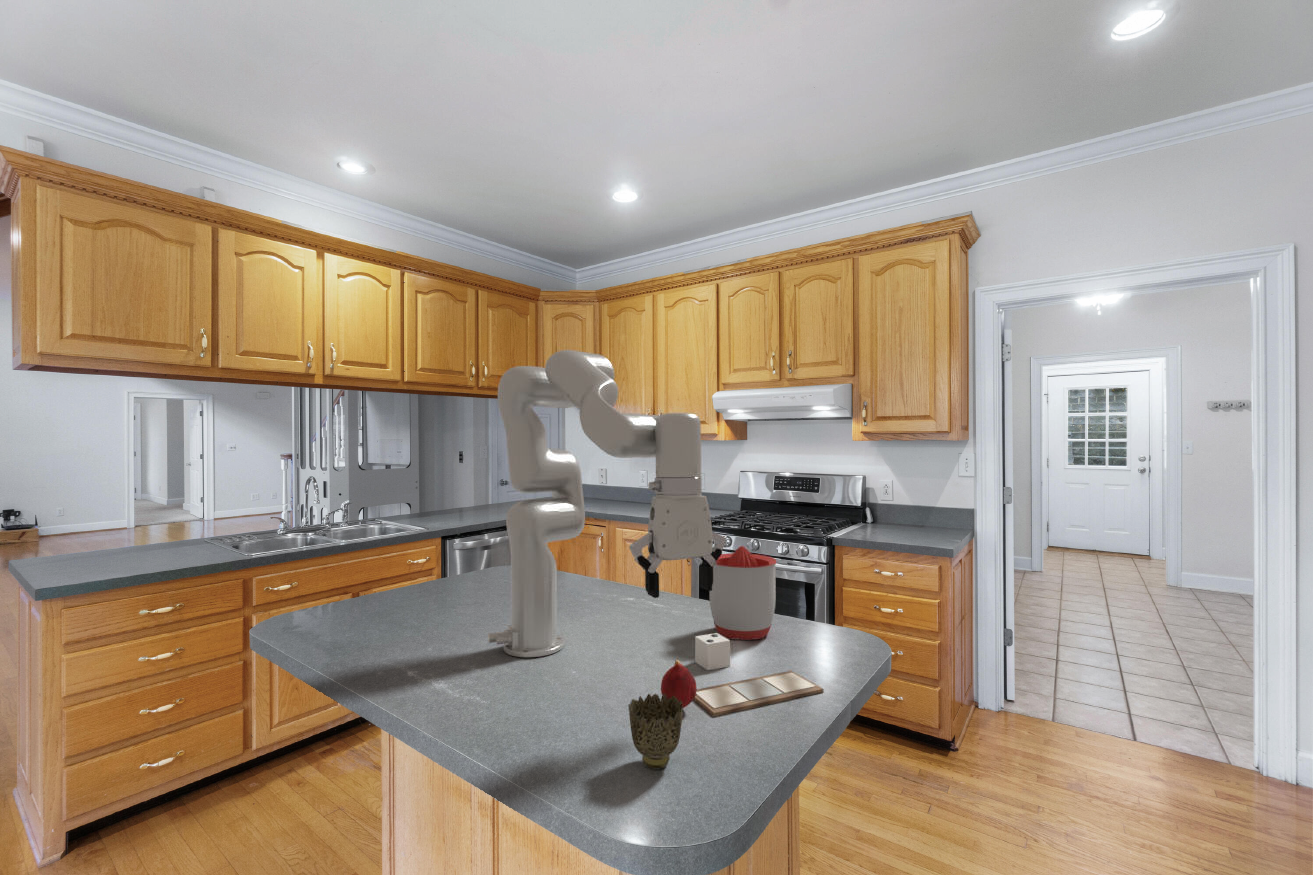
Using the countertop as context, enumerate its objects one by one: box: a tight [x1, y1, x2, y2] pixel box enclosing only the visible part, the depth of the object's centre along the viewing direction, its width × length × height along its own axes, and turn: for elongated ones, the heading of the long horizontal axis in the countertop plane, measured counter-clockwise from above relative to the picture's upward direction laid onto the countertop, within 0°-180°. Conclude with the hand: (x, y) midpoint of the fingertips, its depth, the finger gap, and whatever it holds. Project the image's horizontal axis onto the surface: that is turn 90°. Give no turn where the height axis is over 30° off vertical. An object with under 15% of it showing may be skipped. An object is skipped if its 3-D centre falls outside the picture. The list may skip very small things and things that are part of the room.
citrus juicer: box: [709, 545, 778, 641], centre depth 133 cm, size 16×17×20 cm
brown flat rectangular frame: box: [693, 670, 825, 717], centre depth 100 cm, size 22×9×1 cm, turn 114°
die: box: [694, 632, 731, 671], centre depth 114 cm, size 5×5×5 cm
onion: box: [660, 659, 697, 709], centre depth 94 cm, size 6×6×8 cm
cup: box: [628, 693, 684, 770], centre depth 78 cm, size 8×7×8 cm
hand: (680, 592), depth 95 cm, fingers open, 9 cm apart
